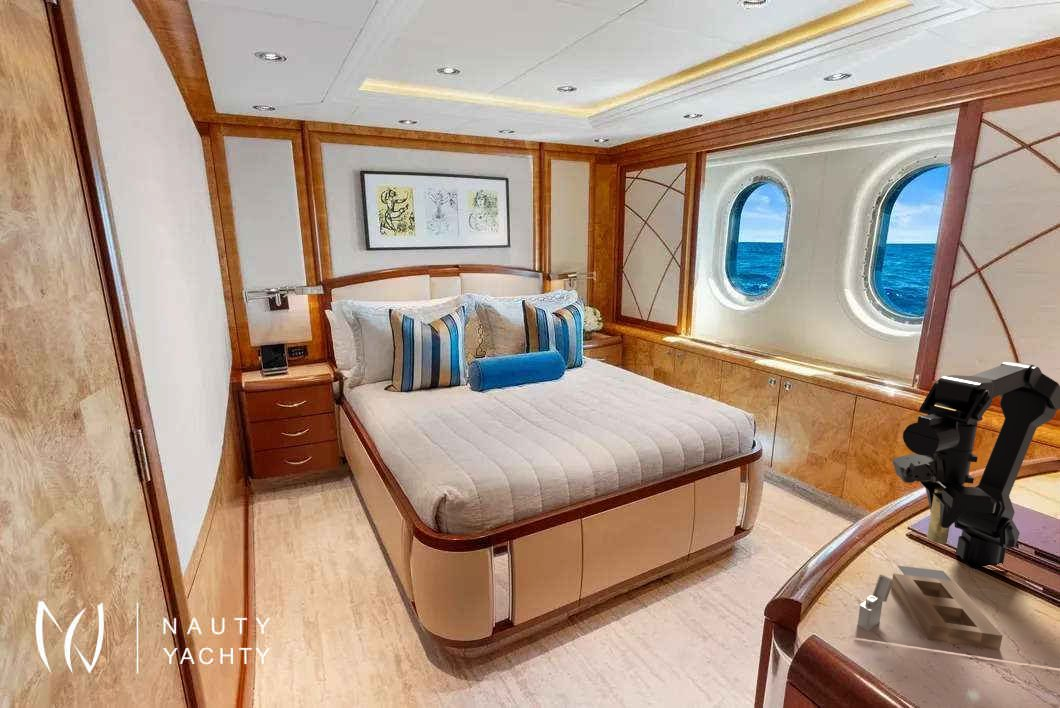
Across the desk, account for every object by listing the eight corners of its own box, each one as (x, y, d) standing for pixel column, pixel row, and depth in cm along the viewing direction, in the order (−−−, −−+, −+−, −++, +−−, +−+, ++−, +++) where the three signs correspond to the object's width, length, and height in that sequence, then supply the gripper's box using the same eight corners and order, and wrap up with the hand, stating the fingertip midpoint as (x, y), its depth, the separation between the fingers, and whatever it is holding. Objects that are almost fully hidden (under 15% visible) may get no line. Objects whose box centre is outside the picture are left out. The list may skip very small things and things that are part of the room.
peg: (941, 536, 97) (950, 488, 95) (950, 544, 94) (958, 495, 92) (923, 534, 98) (931, 486, 96) (931, 542, 95) (939, 493, 93)
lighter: (867, 632, 86) (873, 591, 84) (856, 626, 87) (862, 585, 86) (888, 617, 89) (894, 577, 88) (877, 611, 91) (883, 571, 89)
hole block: (951, 595, 94) (954, 580, 94) (999, 651, 81) (1002, 635, 81) (891, 587, 97) (893, 573, 96) (927, 641, 84) (930, 625, 83)
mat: (943, 572, 101) (943, 570, 101) (962, 594, 94) (963, 593, 94) (897, 566, 103) (897, 565, 103) (913, 588, 96) (914, 587, 96)
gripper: (881, 425, 103) (872, 495, 106) (926, 461, 85) (913, 544, 88) (945, 429, 100) (933, 501, 103) (1005, 467, 82) (989, 553, 85)
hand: (939, 522), depth 95 cm, fingers closed on peg, 3 cm apart
